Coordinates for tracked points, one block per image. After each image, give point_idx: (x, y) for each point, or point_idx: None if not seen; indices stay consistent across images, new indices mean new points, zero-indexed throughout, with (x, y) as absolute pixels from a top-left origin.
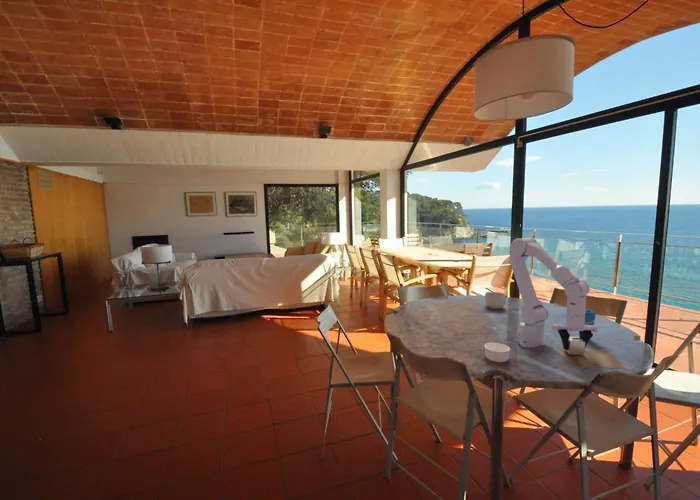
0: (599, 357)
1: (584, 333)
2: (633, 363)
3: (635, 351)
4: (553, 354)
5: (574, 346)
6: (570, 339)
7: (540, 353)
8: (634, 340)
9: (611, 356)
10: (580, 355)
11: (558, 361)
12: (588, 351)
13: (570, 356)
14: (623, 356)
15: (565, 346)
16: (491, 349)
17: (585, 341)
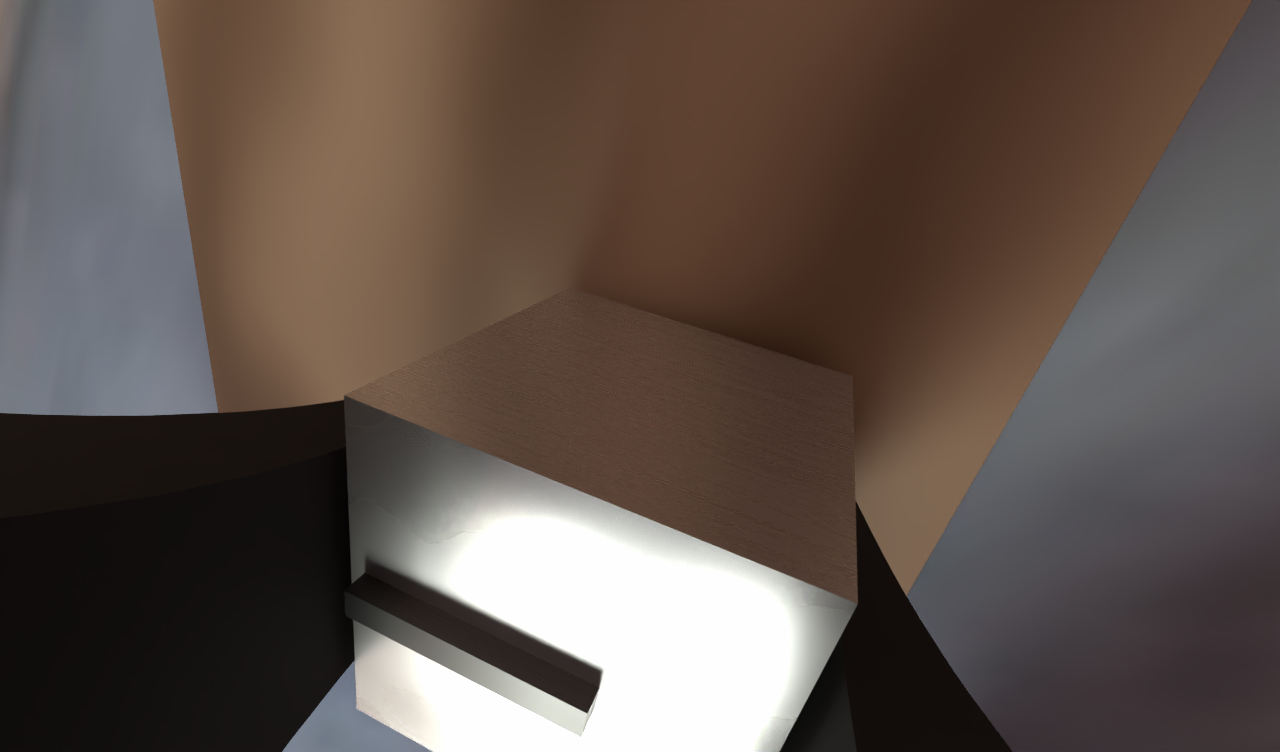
0: (372, 206)
1: (3, 694)
2: (92, 98)
3: (29, 378)
4: (945, 572)
5: (720, 423)
6: (705, 687)
7: (1175, 675)
8: None
9: (213, 221)
10: None
11: (1170, 308)
12: None
13: (855, 329)
14: (131, 299)
15: (876, 557)
16: None
17: (326, 436)
